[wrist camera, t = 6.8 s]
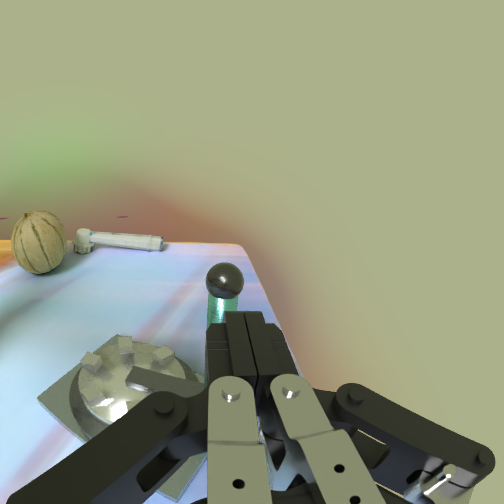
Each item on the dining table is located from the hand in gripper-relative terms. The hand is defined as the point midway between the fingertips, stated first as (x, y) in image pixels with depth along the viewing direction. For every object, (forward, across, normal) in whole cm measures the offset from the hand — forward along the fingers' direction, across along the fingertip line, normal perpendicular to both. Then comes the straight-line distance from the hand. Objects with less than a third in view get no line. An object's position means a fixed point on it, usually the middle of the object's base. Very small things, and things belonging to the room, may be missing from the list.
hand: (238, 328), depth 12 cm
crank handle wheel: (+13, +7, +21) cm, 26 cm away
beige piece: (+63, +23, +25) cm, 71 cm away
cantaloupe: (+49, +40, +25) cm, 68 cm away
